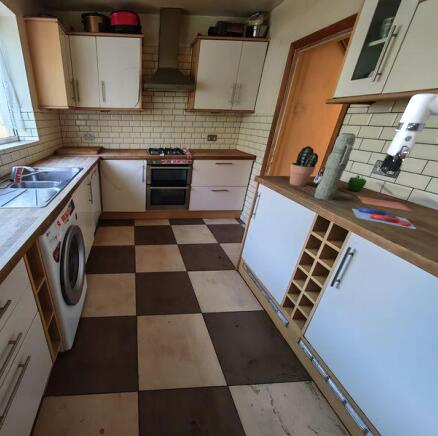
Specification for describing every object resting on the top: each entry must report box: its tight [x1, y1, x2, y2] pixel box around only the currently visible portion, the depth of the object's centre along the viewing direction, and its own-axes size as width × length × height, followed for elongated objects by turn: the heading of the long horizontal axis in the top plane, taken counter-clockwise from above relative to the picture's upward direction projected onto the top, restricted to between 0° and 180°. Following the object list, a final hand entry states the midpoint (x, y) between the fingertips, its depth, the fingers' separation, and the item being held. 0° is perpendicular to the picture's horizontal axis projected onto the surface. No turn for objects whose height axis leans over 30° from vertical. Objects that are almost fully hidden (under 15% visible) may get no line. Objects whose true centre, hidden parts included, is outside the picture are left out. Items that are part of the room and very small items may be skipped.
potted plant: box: [289, 145, 319, 187], centre depth 149 cm, size 14×14×25 cm
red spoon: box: [370, 214, 412, 228], centre depth 102 cm, size 14×4×2 cm, turn 59°
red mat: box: [357, 195, 414, 212], centre depth 124 cm, size 20×13×1 cm, turn 59°
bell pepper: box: [347, 175, 367, 192], centre depth 143 cm, size 8×8×10 cm
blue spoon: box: [357, 206, 397, 218], centre depth 109 cm, size 14×4×2 cm, turn 59°
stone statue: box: [314, 132, 356, 201], centre depth 122 cm, size 9×12×35 cm
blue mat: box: [351, 208, 417, 230], centre depth 106 cm, size 20×13×1 cm, turn 59°
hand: (388, 169), depth 101 cm, fingers open, 9 cm apart
